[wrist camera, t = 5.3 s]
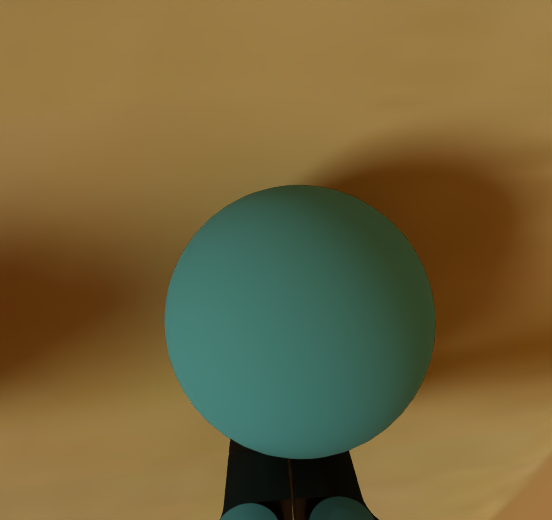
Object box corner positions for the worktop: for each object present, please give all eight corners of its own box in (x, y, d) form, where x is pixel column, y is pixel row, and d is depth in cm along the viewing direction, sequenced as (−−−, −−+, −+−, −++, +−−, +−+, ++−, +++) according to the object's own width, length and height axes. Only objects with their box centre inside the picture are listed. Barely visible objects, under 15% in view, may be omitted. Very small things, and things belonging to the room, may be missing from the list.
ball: (192, 431, 10) (190, 234, 11) (393, 417, 10) (371, 226, 12) (114, 533, 5) (127, 133, 6) (539, 497, 5) (469, 124, 6)
